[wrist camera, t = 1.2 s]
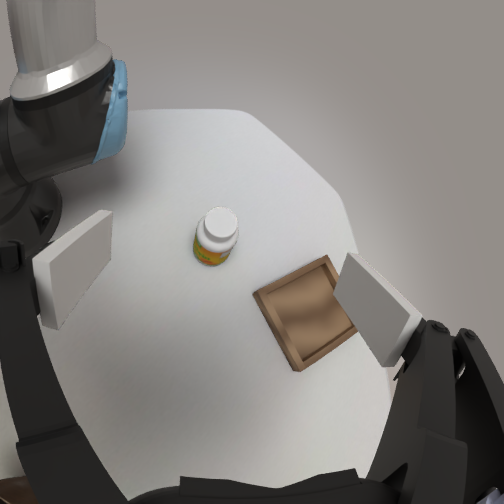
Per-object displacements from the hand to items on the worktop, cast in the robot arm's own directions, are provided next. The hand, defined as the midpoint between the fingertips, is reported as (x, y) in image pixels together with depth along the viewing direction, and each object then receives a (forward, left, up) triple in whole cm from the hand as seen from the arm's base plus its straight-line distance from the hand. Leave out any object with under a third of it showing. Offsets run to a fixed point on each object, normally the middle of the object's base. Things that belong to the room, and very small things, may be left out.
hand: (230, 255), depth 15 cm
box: (+7, +15, -26) cm, 31 cm away
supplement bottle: (-8, +6, -26) cm, 28 cm away
